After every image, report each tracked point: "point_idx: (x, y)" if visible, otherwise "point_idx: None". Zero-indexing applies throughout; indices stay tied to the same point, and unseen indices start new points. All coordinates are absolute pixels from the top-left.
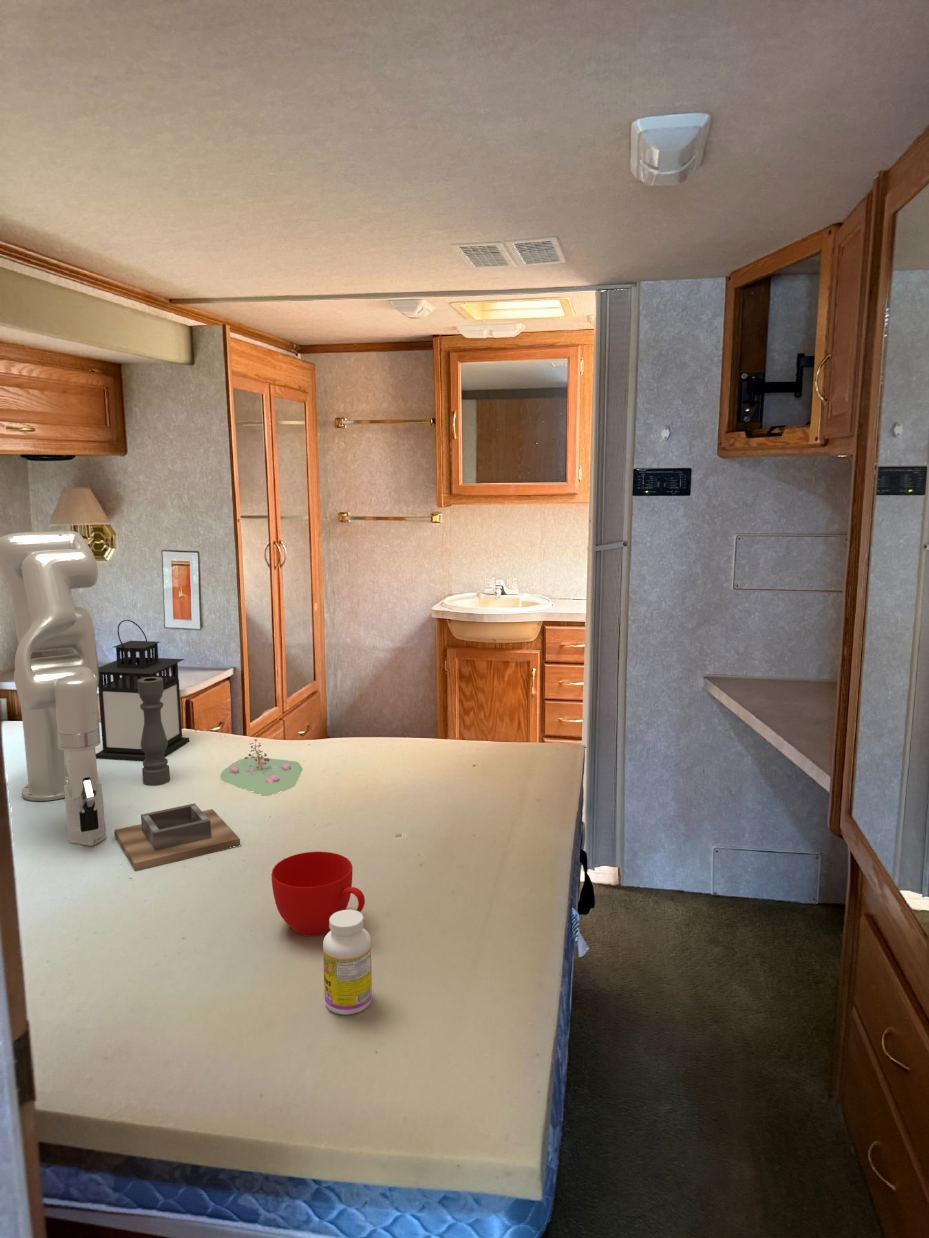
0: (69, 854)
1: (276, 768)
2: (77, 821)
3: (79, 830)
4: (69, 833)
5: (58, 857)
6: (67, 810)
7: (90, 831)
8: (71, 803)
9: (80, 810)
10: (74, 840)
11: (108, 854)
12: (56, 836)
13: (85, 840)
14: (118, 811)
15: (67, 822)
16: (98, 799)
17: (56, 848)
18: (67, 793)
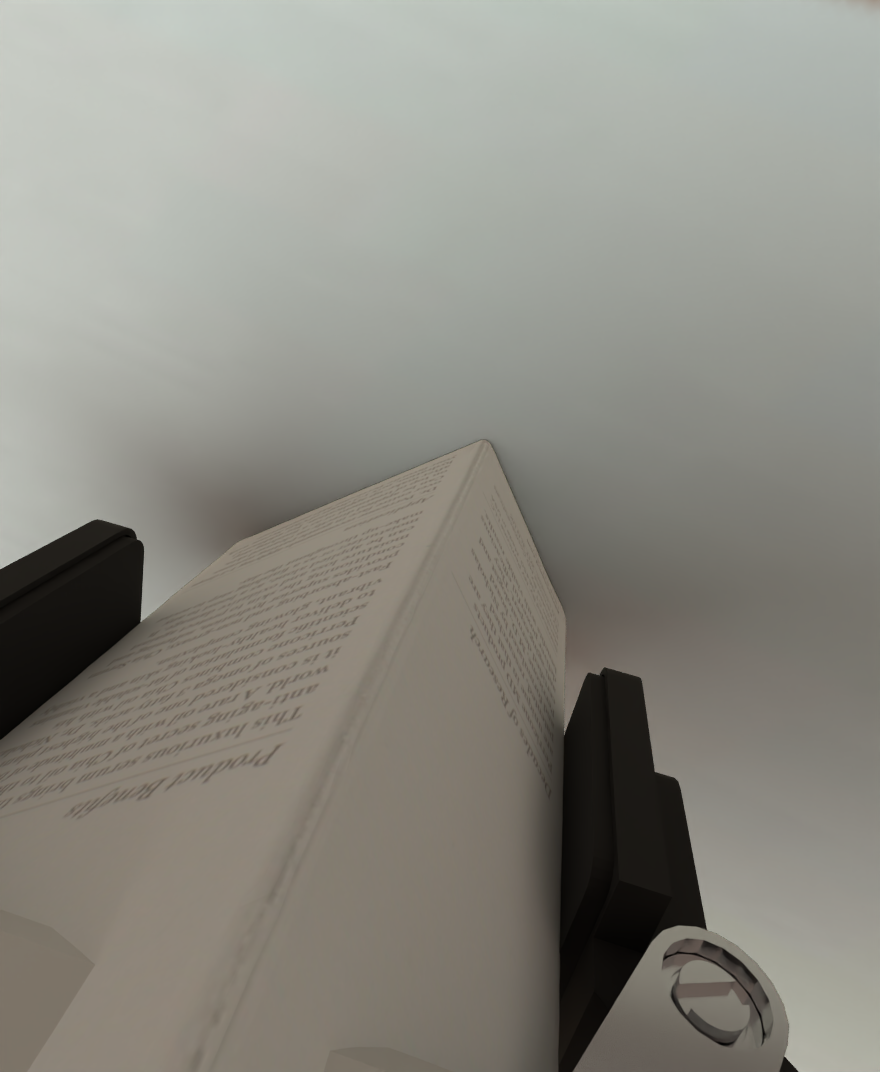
0: (206, 323)
1: None
2: (264, 593)
3: (288, 548)
4: (448, 474)
5: (201, 208)
6: (367, 609)
7: (161, 606)
8: (187, 738)
9: (101, 719)
10: (403, 475)
11: (21, 556)
12: (767, 419)
13: (271, 533)
14: (830, 1023)
15: (436, 515)
16: None
17: (439, 284)
18: (127, 934)
